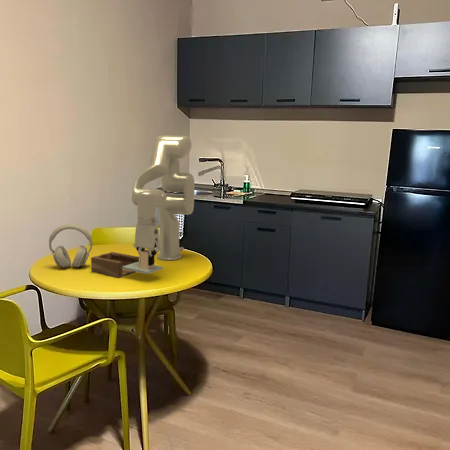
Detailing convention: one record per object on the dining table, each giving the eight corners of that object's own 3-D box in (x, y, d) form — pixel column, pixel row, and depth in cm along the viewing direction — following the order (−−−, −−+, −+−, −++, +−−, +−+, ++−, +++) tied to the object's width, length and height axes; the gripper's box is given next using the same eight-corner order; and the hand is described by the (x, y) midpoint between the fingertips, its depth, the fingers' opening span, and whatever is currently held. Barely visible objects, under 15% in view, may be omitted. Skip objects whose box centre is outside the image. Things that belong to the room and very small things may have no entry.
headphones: (93, 263, 214) (92, 221, 211) (91, 269, 204) (90, 225, 201) (52, 264, 211) (50, 222, 207) (47, 270, 201) (45, 226, 197)
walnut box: (112, 265, 212) (112, 251, 211) (139, 271, 204) (139, 256, 203) (91, 272, 201) (91, 257, 200) (118, 278, 193) (118, 263, 192)
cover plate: (138, 263, 202) (137, 246, 200) (162, 268, 195) (162, 250, 193) (122, 268, 193) (122, 250, 192) (147, 274, 187) (147, 255, 185)
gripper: (168, 222, 188) (168, 265, 191) (137, 217, 197) (137, 259, 200) (156, 224, 182) (156, 269, 185) (125, 220, 190) (125, 262, 193)
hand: (147, 263), depth 192 cm, fingers closed on cover plate, 4 cm apart
